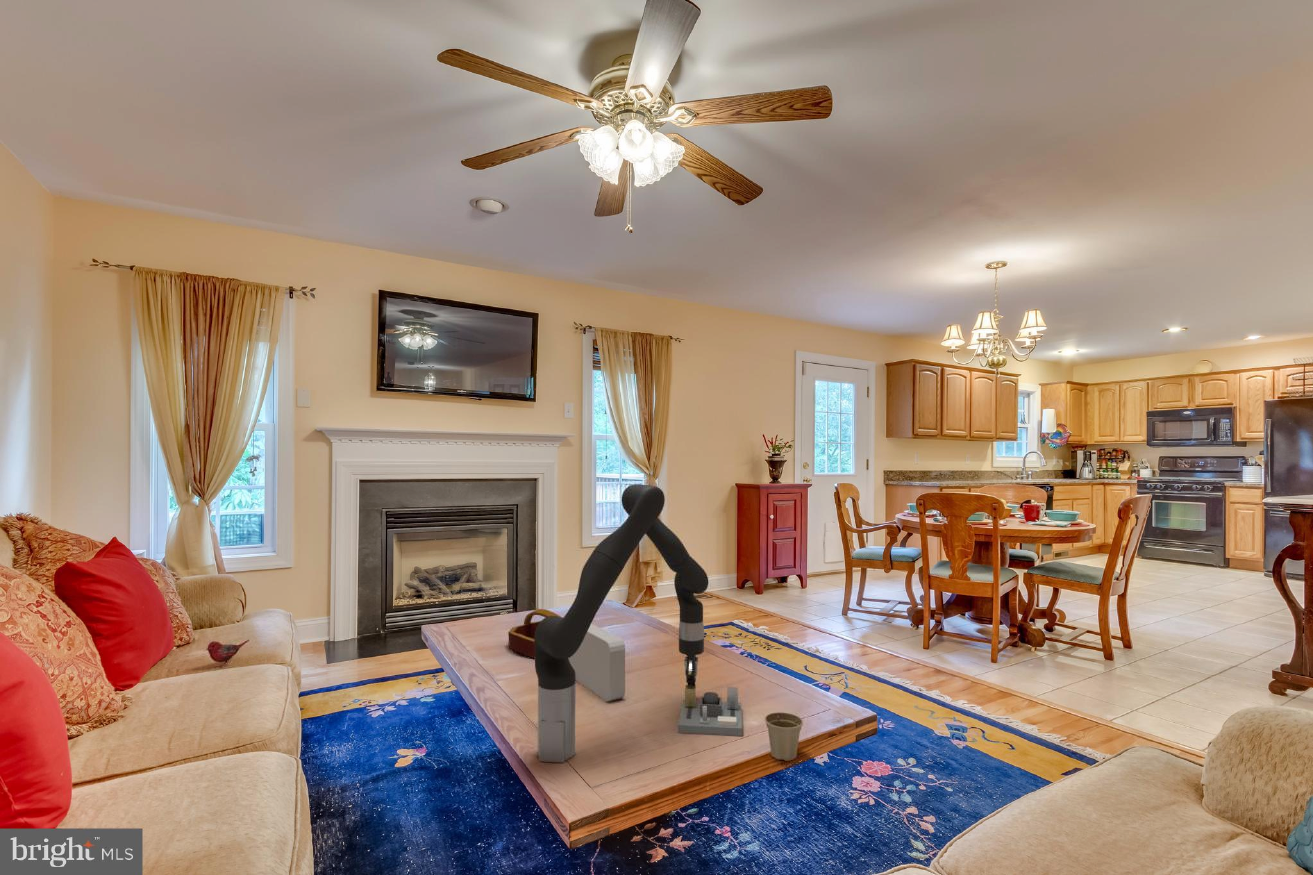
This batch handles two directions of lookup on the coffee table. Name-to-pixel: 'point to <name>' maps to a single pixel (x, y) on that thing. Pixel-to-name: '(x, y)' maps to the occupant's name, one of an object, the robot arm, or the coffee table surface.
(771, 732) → the flower pot
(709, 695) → the black button
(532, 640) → the decorative basket
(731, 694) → the light grey block
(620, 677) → the rounded white slab
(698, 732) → the control board
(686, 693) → the gold rectangular block
